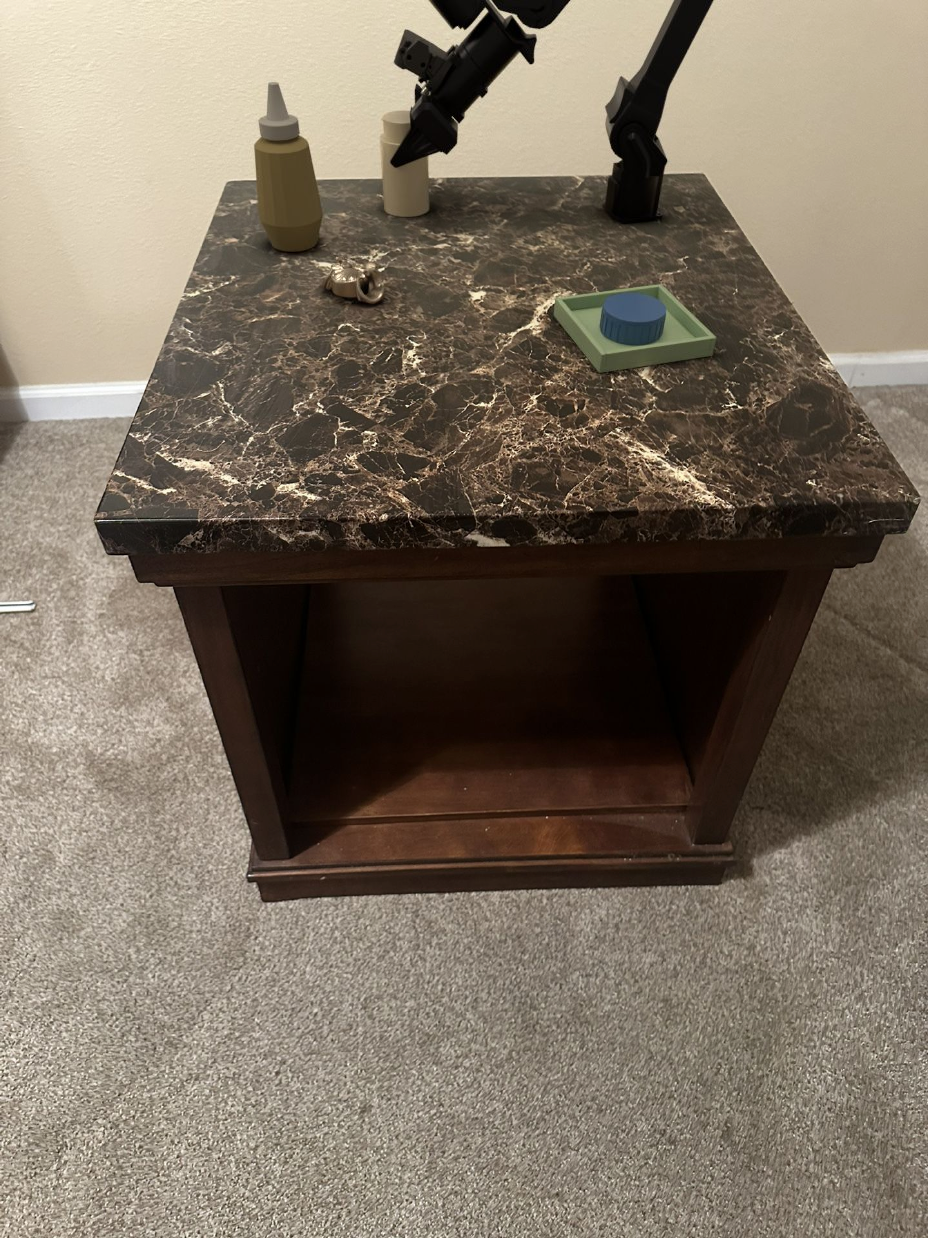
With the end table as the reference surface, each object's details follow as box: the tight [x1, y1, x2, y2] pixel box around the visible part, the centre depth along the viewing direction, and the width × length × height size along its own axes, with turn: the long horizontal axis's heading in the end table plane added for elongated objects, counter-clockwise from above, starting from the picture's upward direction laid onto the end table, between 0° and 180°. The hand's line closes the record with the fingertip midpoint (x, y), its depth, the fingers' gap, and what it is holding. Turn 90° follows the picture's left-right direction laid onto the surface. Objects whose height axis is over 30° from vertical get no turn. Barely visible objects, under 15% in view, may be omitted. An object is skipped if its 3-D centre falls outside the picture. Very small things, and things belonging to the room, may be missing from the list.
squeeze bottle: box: [253, 81, 324, 253], centre depth 101 cm, size 8×8×18 cm
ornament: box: [322, 256, 386, 305], centre depth 96 cm, size 8×7×4 cm
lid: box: [599, 293, 666, 345], centre depth 90 cm, size 7×7×3 cm
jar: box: [379, 110, 430, 218], centre depth 112 cm, size 6×6×11 cm
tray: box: [553, 283, 717, 374], centre depth 91 cm, size 13×13×2 cm
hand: (394, 156), depth 111 cm, fingers closed on jar, 6 cm apart
